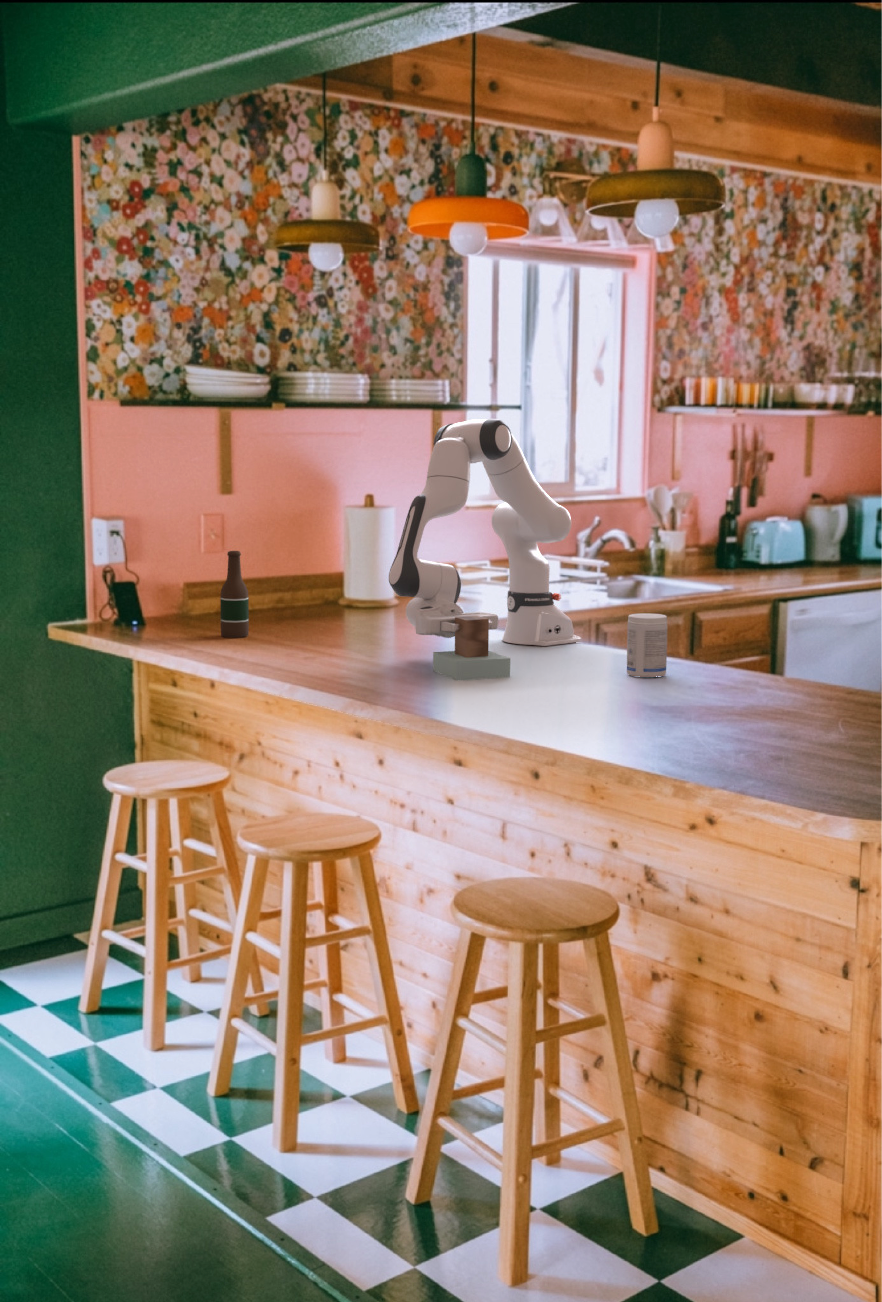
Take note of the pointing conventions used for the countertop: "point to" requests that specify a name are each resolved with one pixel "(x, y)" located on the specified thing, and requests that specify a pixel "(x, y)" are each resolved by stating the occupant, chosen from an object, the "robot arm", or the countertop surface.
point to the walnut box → (472, 636)
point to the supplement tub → (647, 645)
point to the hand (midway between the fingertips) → (473, 627)
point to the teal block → (471, 666)
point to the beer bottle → (234, 601)
